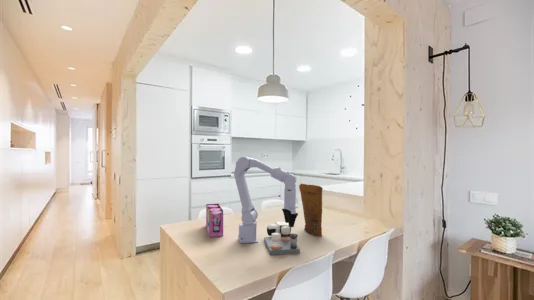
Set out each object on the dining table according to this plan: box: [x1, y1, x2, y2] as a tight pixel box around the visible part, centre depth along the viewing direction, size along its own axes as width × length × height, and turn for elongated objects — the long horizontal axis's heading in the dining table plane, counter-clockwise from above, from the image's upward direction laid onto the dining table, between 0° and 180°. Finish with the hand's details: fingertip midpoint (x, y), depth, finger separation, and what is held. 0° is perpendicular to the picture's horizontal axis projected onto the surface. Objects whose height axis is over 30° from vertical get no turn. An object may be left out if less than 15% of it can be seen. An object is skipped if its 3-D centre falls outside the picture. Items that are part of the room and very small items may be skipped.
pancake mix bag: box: [298, 183, 323, 237], centre depth 152 cm, size 7×19×28 cm, turn 27°
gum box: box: [205, 203, 224, 238], centre depth 153 cm, size 24×8×14 cm, turn 17°
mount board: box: [263, 236, 301, 256], centre depth 129 cm, size 14×18×2 cm
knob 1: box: [270, 233, 281, 242], centre depth 124 cm, size 4×4×3 cm
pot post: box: [290, 233, 298, 249], centre depth 123 cm, size 4×4×6 cm
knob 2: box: [281, 226, 290, 235], centre depth 135 cm, size 4×4×3 cm
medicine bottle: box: [266, 221, 292, 237], centre depth 142 cm, size 7×7×12 cm
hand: (289, 224), depth 133 cm, fingers open, 7 cm apart
